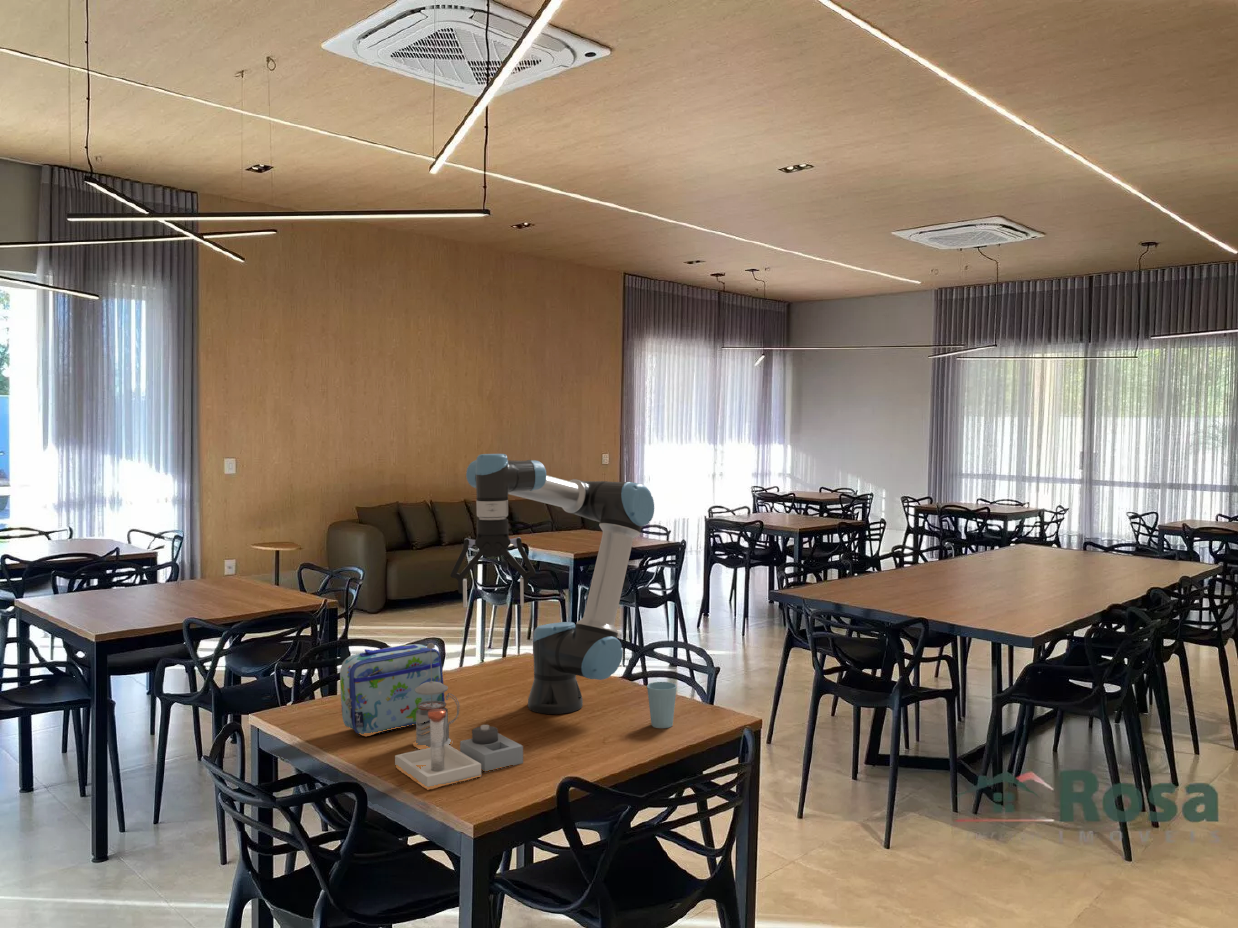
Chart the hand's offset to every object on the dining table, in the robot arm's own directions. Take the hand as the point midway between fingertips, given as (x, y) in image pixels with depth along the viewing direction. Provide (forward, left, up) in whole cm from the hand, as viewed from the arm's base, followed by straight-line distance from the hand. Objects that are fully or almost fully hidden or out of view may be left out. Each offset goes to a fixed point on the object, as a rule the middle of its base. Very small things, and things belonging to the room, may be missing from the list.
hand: (493, 606), depth 232 cm
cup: (+11, +43, -35) cm, 56 cm away
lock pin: (+7, -19, -34) cm, 39 cm away
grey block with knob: (+7, -5, -35) cm, 36 cm away
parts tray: (+7, -19, -35) cm, 40 cm away
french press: (-12, -10, -35) cm, 38 cm away
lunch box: (-31, -13, -35) cm, 49 cm away
